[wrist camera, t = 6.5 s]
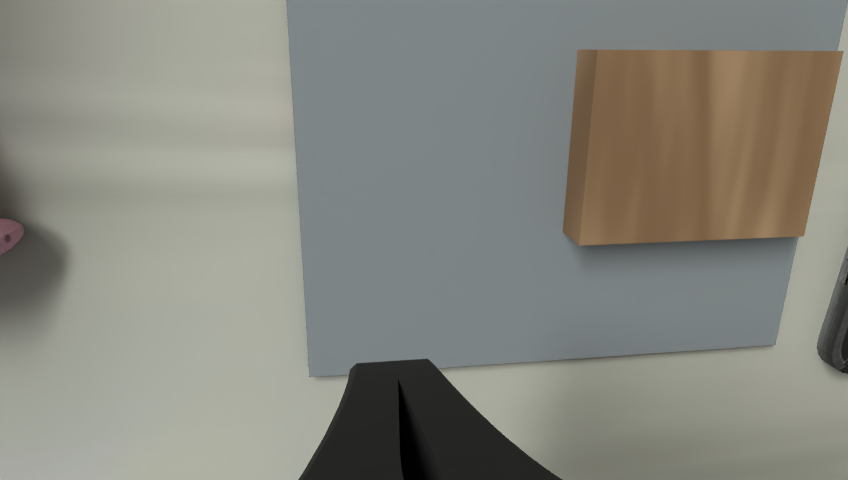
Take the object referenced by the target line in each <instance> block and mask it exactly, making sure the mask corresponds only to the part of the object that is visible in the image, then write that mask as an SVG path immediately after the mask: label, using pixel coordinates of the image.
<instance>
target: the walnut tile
mask: <svg viewBox="0 0 848 480" xmlns="http://www.w3.org/2000/svg"><path fill="white" fill-rule="evenodd" d="M842 55H843V51H754V50H583V49H578V51H577V63H576V75H575V87H574V99H573V112H572V124H571V136H570V148H569V160H568V172H567V185H566V197H565V209H564V221H563V233H565V234H566V235H567V236H568V237H570V238H571V239H572V240H573V241H575V242H576V243H577V244H578V245H579V246H581V245H605V244H629V243H653V242H677V241H701V240H725V239H749V238H773V237H797V236H804V233H805V228H806V223H807V219H808V214H809V209H810V205H811V200H812V195H813V191H814V186H815V181H816V177H817V172H818V167H819V163H820V158H821V153H822V149H823V144H824V139H825V135H826V130H827V125H828V121H829V116H830V111H831V107H832V102H833V97H834V93H835V88H836V83H837V79H838V74H839V69H840V65H841V60H842Z"/></svg>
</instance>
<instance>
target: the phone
mask: <svg viewBox="0 0 848 480" xmlns="http://www.w3.org/2000/svg"><path fill="white" fill-rule="evenodd" d="M847 268H848V248H847V251H846V254H845V257H844V260H843V263H842V266H841V269H840V272H839V276H838V279H837V282H836V285H835V288H834V291H833V294H832V297H831V301H830V304H829V307H828V310H827V313H826V316H825V319H824V322H823V326H822V329H821V332H820V335H819V338H818V343H817V350H818V354H819V356H820V357H821V359H822V360H824V361H825V362H827V363H828V364H830V365H831V366H833V367H835V368H836V369H838V370H839V371H841V372H842V373H848V282H847V285H845V284H843V281H844V277H845V274H846V271H847Z"/></svg>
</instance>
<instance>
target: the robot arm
mask: <svg viewBox="0 0 848 480" xmlns="http://www.w3.org/2000/svg"><path fill="white" fill-rule="evenodd" d="M299 480H562V479H560V478H559V477H557V476H556V475H554V474H553V473H551V472H550V471H548V470H547V469H546V468H544V467H543V466H541V465H540V464H539V463H537V462H536V461H535V460H533V459H532V458H531V457H529V456H528V455H527V454H526V453H524V452H523V451H522V450H521V449H520V448H518V447H517V446H516V445H515V444H514V443H512V442H511V441H510V440H509V439H507V438H506V437H505V436H504V435H503V434H502V433H501V432H499V431H498V430H497V429H496V428H495V427H494V426H493V425H492V424H491V423H490V422H489V421H488V420H487V419H486V418H485V417H483V416H482V415H481V414H480V413H479V412H478V411H477V410H476V409H475V408H474V407H473V406H472V405H471V404H470V403H469V402H468V401H467V400H466V399H465V398H464V397H463V396H462V395H461V394H460V393H459V391H458V390H457V389H456V388H455V387H454V386H453V385H452V384H451V383H450V382H449V381H448V380H447V379H446V377H445V376H444V375H443V374H442V373H441V372H440V371H439V370H438V368H437V367H436V366H435V365H434V364H433V363H432V362H431V361H430V360H429V359H414V360H399V361H383V362H368V363H356V364H355V365H354V366H353V367H352V368H351V369H350V372H349V379H348V382H347V386H346V389H345V392H344V394H343V397H342V399H341V402H340V405H339V407H338V409H337V411H336V413H335V415H334V417H333V420H332V422H331V424H330V426H329V428H328V430H327V432H326V434H325V436H324V438H323V440H322V441H321V443H320V445H319V447H318V448H317V450H316V452H315V453H314V455H313V457H312V458H311V460H310V462H309V464H308V465H307V467H306V469H305V470H304V472H303V474H302V475H301V477H300V478H299Z"/></svg>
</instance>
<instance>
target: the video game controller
mask: <svg viewBox="0 0 848 480" xmlns="http://www.w3.org/2000/svg"><path fill="white" fill-rule="evenodd" d="M23 234H24V229H23V226H22V225H21V224H20V223H19V222H17V221H14V220H11V219H2V218H0V255H1V254H3V253H4V252H6V251H8V250H10V249H11V248H12V247H13V246H14V245H15V244H16V243H17V242H18V241H19V240H20V239H21V238H22V236H23Z"/></svg>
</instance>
